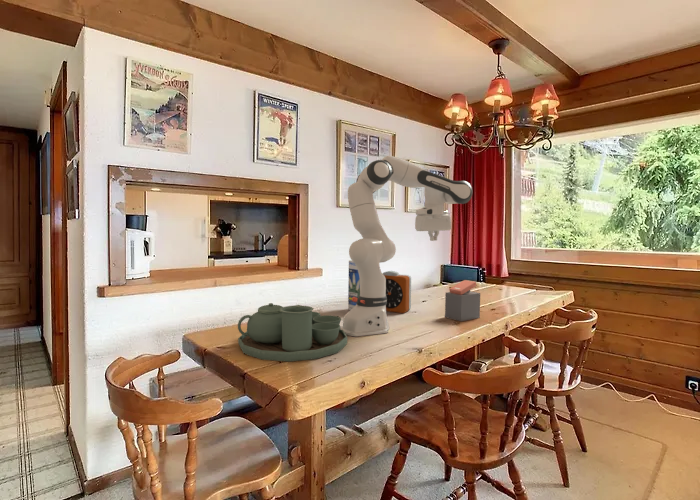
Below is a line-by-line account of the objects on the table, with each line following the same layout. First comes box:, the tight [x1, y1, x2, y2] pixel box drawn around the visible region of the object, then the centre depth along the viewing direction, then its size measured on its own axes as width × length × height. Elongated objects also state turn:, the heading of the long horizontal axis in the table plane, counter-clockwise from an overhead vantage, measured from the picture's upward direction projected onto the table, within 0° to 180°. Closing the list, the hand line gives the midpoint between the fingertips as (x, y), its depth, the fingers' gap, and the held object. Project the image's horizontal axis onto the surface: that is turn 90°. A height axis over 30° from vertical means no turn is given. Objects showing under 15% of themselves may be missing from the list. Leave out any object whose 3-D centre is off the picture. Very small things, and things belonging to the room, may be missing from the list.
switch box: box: [444, 290, 481, 322], centre depth 197 cm, size 13×10×12 cm
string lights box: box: [347, 259, 360, 311], centre depth 210 cm, size 13×8×26 cm, turn 42°
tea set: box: [237, 302, 348, 362], centre depth 153 cm, size 40×40×16 cm
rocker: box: [449, 279, 477, 295], centre depth 196 cm, size 11×7×4 cm, turn 123°
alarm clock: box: [382, 270, 412, 314], centre depth 212 cm, size 18×9×21 cm, turn 62°
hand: (433, 240), depth 191 cm, fingers closed
